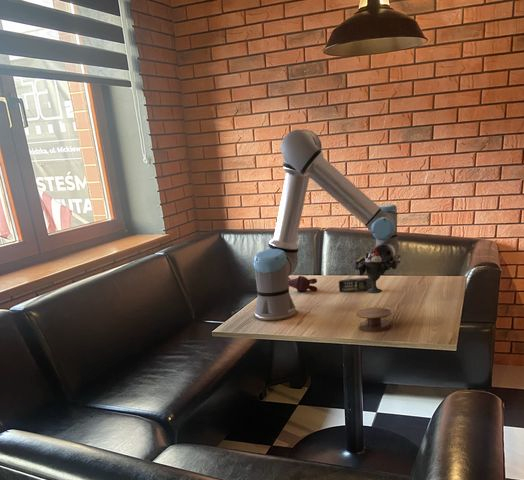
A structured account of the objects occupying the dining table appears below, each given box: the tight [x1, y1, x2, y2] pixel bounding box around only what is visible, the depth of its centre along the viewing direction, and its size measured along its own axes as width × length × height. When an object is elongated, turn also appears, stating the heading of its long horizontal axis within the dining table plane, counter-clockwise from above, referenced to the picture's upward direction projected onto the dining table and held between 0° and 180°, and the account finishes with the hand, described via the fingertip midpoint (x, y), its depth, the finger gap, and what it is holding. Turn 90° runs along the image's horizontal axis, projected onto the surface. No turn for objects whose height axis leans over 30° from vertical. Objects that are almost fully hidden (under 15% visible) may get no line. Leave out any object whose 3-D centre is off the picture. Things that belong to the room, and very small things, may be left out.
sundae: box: [363, 245, 385, 294], centre depth 169 cm, size 7×7×15 cm
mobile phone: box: [338, 277, 373, 293], centre depth 219 cm, size 5×3×15 cm
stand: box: [356, 307, 392, 333], centre depth 174 cm, size 11×11×5 cm
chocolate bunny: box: [288, 275, 318, 293], centre depth 227 cm, size 7×7×15 cm
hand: (371, 270), depth 165 cm, fingers closed on sundae, 6 cm apart
